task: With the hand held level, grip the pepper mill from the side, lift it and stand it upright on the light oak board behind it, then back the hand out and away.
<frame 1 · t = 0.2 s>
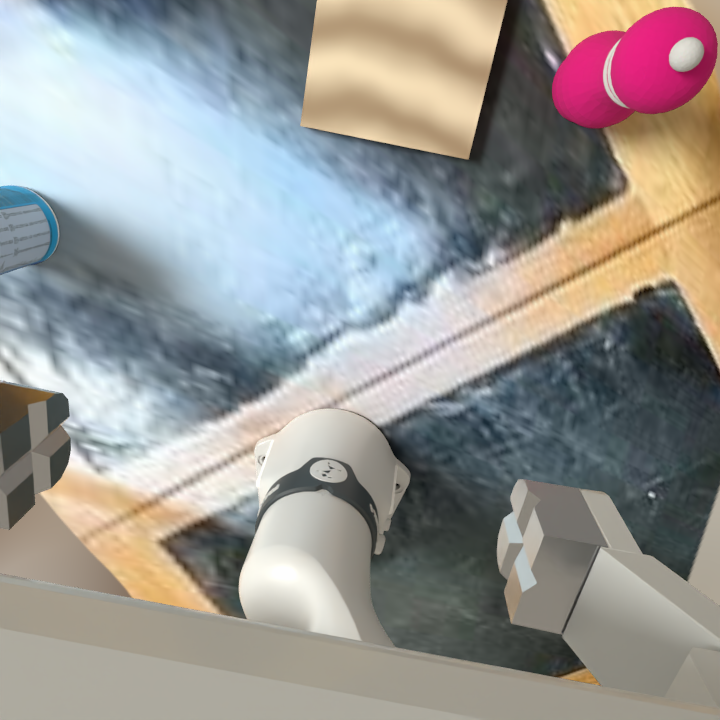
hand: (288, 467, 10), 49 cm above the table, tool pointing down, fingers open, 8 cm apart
oak board: (402, 49, 50), on the table
pepper mill: (586, 86, 50), on the table
beverage bottle: (26, 224, 59), on the table
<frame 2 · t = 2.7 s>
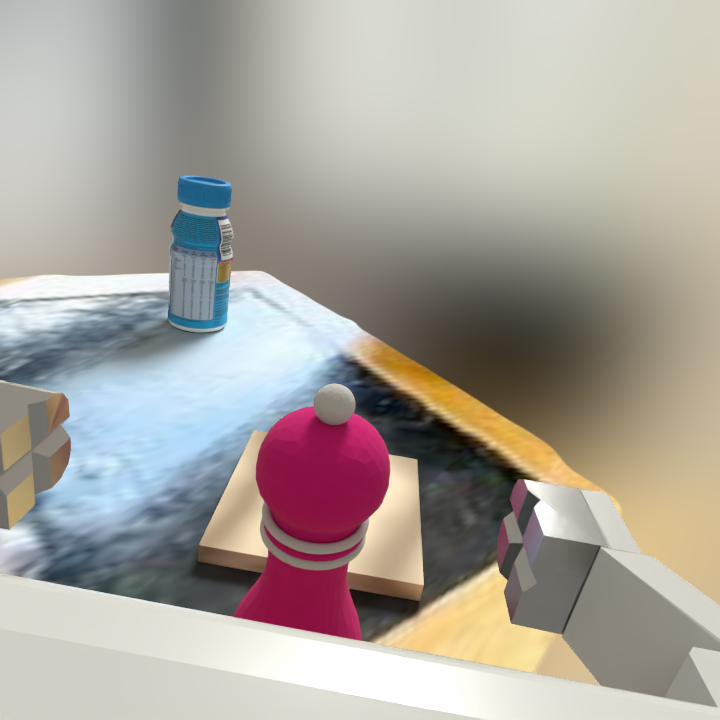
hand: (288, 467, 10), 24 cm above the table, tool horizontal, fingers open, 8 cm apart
oak board: (322, 509, 47), on the table
pepper mill: (283, 704, 31), on the table
beverage bottle: (197, 324, 80), on the table
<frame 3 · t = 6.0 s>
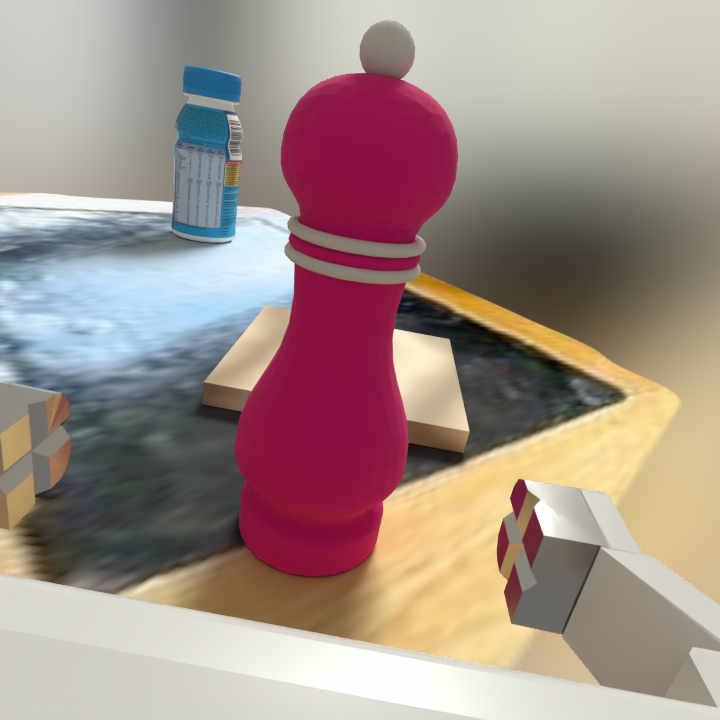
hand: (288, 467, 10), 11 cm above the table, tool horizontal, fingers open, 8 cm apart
oak board: (345, 375, 41), on the table
pepper mill: (308, 529, 25), on the table
beverage bottle: (203, 237, 74), on the table
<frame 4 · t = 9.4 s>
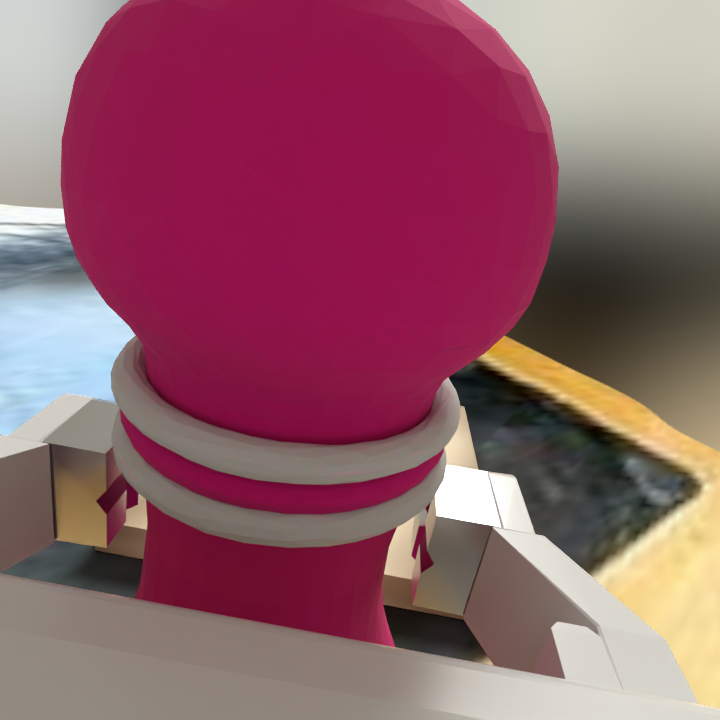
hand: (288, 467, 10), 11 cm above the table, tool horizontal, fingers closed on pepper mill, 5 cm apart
oak board: (322, 472, 29), on the table
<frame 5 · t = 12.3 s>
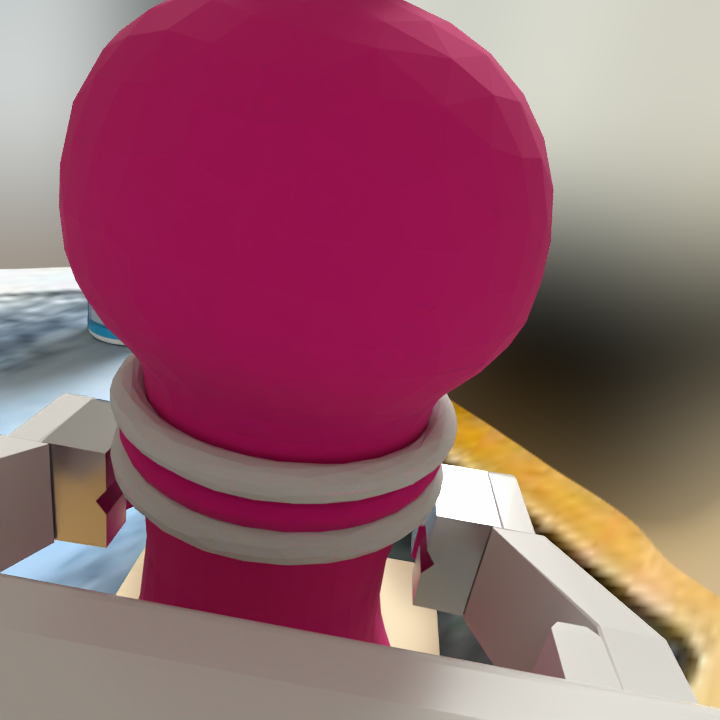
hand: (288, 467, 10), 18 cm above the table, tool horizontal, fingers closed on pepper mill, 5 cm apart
oak board: (263, 686, 25), on the table
beverage bottle: (130, 333, 59), on the table
when the fingers open (13 cm above the table, at t = 15.2 s): pepper mill stays where it is, resting on oak board.
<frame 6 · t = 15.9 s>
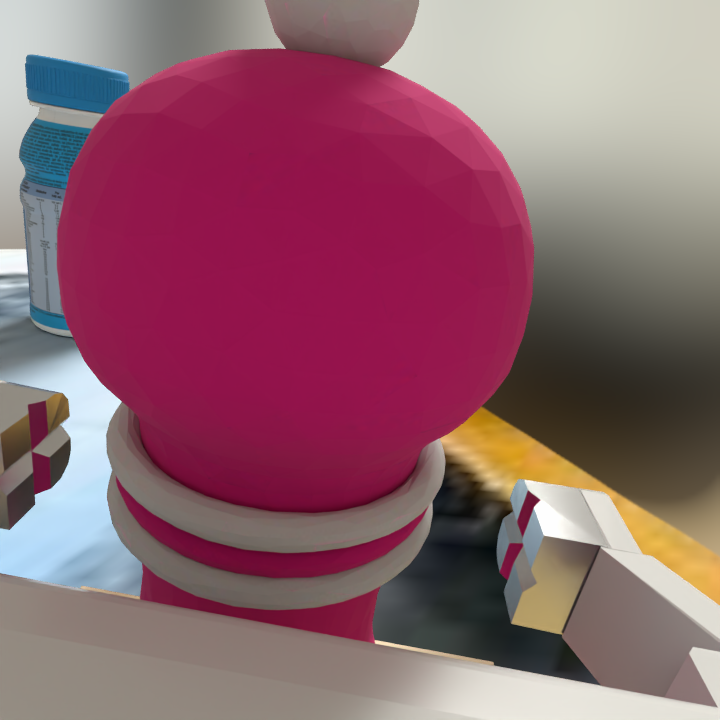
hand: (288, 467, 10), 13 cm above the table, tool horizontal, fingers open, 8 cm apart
beverage bottle: (85, 324, 48), on the table
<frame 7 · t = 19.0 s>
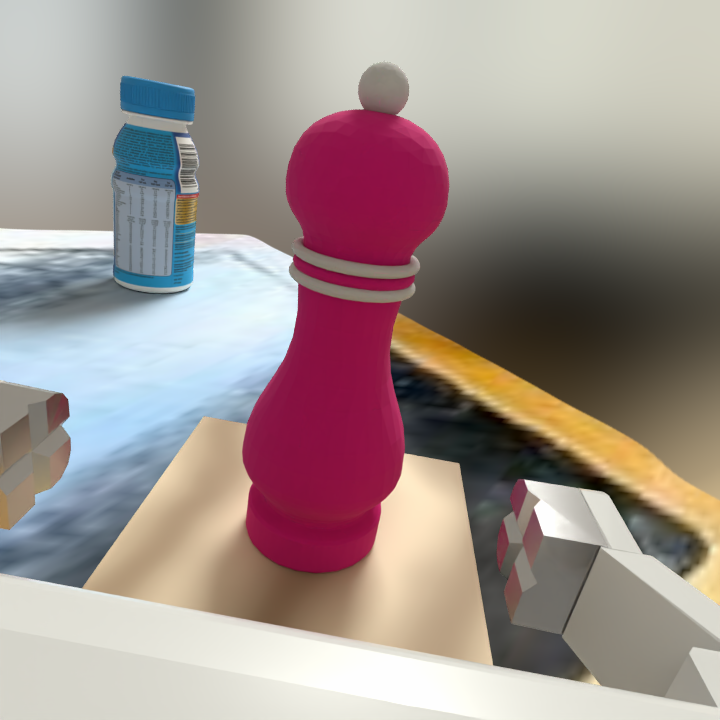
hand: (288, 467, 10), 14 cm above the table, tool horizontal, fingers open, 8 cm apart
oak board: (307, 548, 27), on the table
pepper mill: (310, 529, 27), point 1 cm above the table, touching oak board
beverage bottle: (153, 284, 61), on the table
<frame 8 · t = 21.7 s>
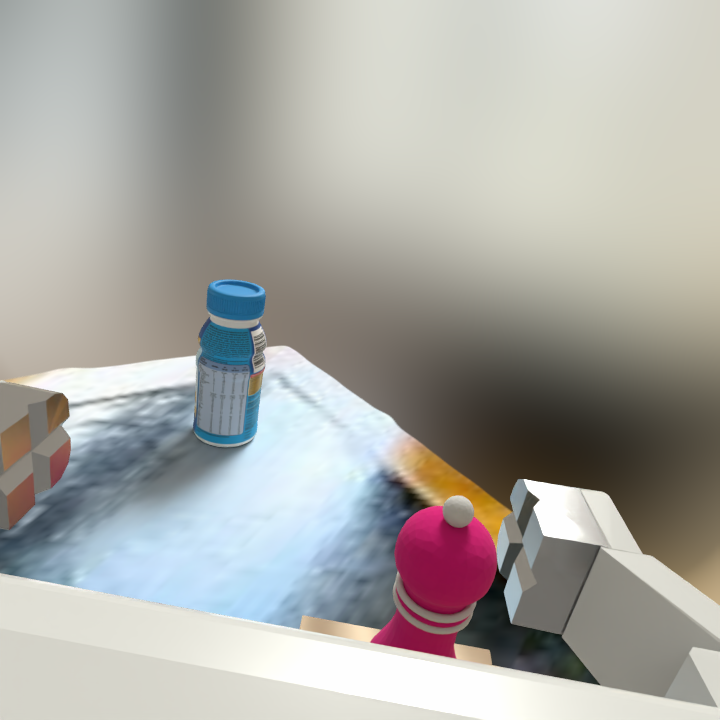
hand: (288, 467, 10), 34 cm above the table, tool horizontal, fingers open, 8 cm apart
beverage bottle: (225, 433, 73), on the table
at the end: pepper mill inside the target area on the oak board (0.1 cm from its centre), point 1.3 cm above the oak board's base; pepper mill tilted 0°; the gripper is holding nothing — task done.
